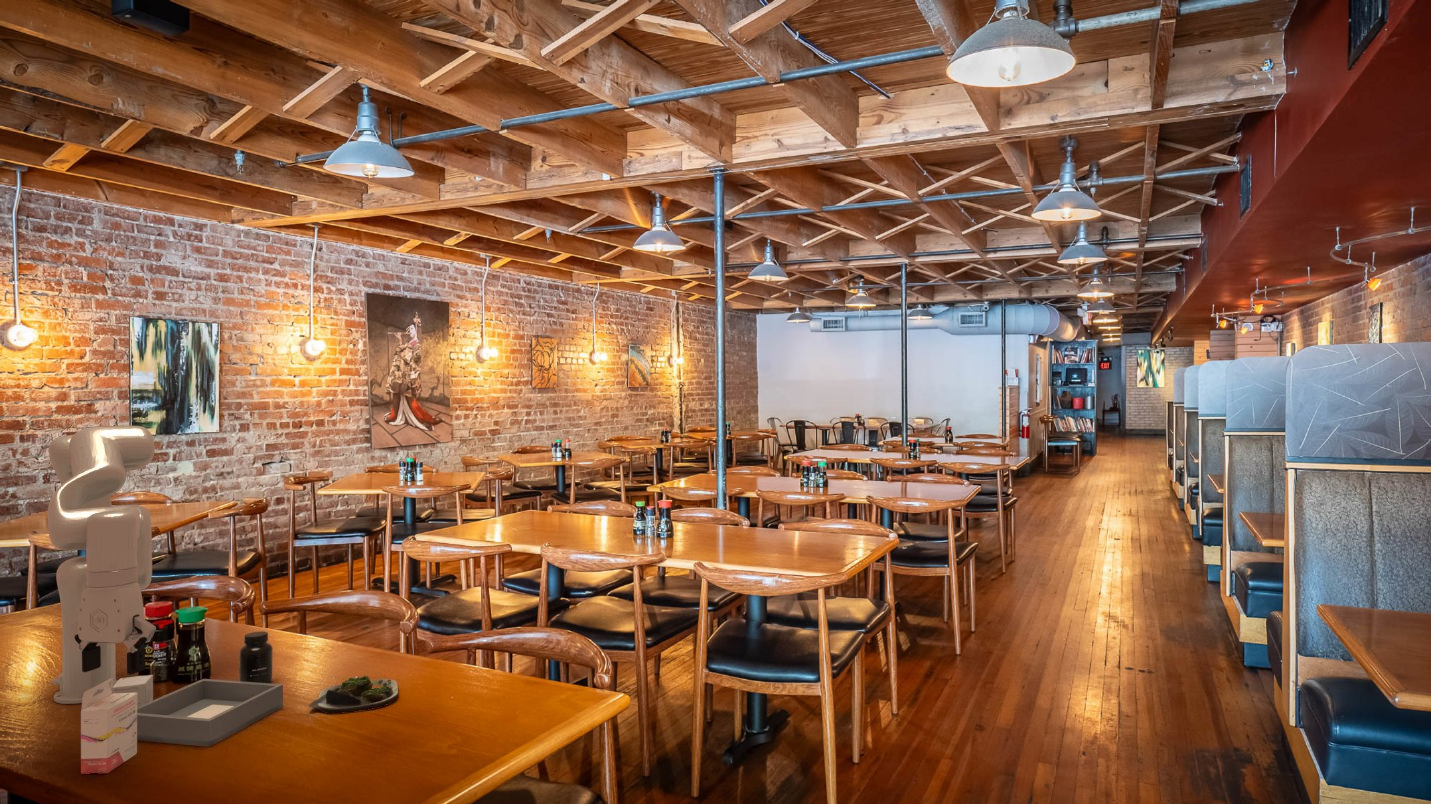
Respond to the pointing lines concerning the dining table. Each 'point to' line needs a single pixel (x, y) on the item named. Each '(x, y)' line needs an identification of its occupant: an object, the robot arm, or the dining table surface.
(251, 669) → the supplement bottle
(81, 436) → the robot arm
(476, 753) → the dining table surface
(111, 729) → the ink cartridge box
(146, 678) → the product box
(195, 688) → the walled box
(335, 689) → the salad plate
